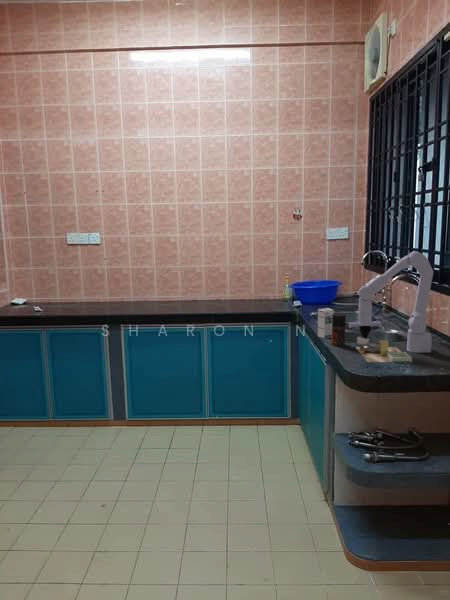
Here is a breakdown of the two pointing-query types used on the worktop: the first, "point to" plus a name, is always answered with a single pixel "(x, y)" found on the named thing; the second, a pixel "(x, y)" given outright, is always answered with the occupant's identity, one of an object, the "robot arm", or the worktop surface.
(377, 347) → the crank
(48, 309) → the worktop surface
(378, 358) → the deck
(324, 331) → the syrup box
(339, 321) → the deodorant
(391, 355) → the tray
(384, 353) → the block
